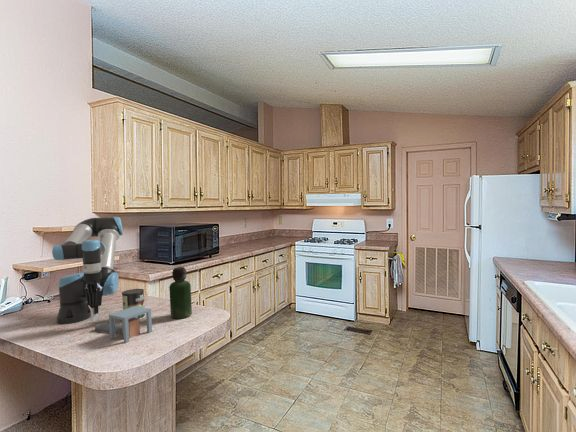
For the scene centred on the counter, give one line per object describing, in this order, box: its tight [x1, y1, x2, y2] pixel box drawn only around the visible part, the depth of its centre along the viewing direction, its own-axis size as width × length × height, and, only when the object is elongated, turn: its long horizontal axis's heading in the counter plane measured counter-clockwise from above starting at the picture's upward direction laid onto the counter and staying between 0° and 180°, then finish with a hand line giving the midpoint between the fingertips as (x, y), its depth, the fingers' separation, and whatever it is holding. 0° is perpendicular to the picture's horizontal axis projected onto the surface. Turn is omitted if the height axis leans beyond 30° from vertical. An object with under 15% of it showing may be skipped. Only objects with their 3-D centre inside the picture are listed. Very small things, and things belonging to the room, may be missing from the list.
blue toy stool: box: [108, 306, 153, 343], centre depth 145 cm, size 11×13×10 cm
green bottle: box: [168, 266, 193, 320], centre depth 168 cm, size 10×10×25 cm
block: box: [121, 317, 141, 339], centre depth 145 cm, size 5×5×7 cm
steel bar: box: [94, 322, 123, 334], centre depth 151 cm, size 18×4×3 cm, turn 75°
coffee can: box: [121, 288, 146, 321], centre depth 167 cm, size 10×10×14 cm
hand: (95, 320), depth 158 cm, fingers closed
